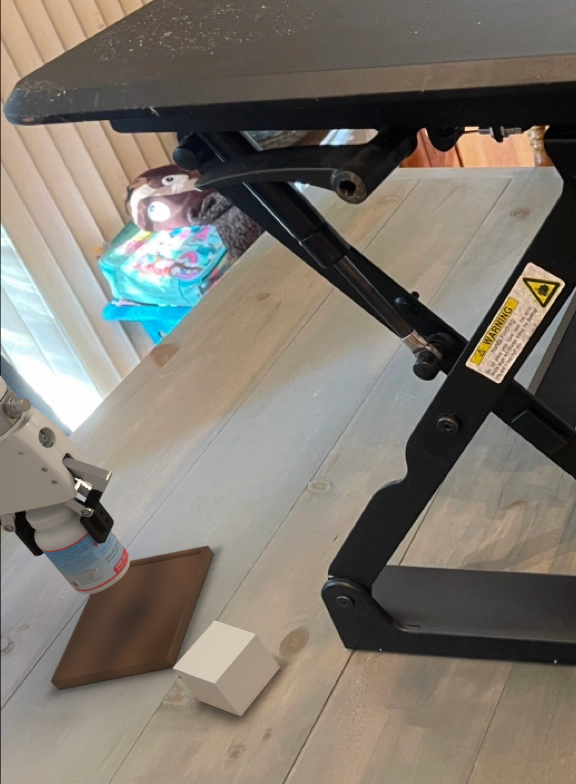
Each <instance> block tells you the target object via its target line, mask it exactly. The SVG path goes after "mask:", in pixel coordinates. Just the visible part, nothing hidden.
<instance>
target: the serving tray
mask: <svg viewBox="0 0 576 784" xmlns="http://www.w3.org/2000/svg"><path fill="white" fill-rule="evenodd" d="M213 557H214V552H213V550H212V549H211V547H210V546H209V545H204V546H198V547H193V548H187V549H184V550H178V551H172V552H168V553H163V554H159V555H153V556H148V557H147V556H146V557H143V558H138V559H133V560H130V565H129V568H128V570H127V571H126V573H125V574H124V576H123V577H122V578H121V579H119V580H118V581H117V582H116V583H114V584H113V585H111V586H110V587H108V588H106V589H104V590H102V591H100V592H97V593H93V594H89V596H88V598H87V600H86V603H85V605H84V607H83V609H82V612H81V614H80V615H79V618H78V621H77V622H76V625H75V627H74V629H73V631H72V632H71V636H70V638H69V640H68V642H67V644H66V647H65V649H64V651H63V653H62V655H61V657H60V660H59V662H58V664H57V666H56V668H55V670H54V673H53V675H52V678H51V680H50V683H51V684H52V685H53V687H55V688H56V689H57V690H63V689H67V688H72V687H78V686H82V685H83V686H84V685H88V684H92V683H98V682H102V681H108V680H114V679H118V678H124V677H128V676H133V675H140V674H144V673H150V672H154V671H159V670H164V669H170V668H173V667H174V666H175V665H176V664H175V663H176V661H177V658H178V655H179V653H180V648H181V647H182V644H183V641H184V638H185V635H186V633H187V630H188V627H189V624H190V621H191V619H192V615H193V613H194V610H195V607H196V604H197V602H198V599H199V596H200V593H201V590H202V587H203V585H204V582H205V579H206V577H207V574H208V570H209V568H210V565H211V562H212V559H213Z"/></svg>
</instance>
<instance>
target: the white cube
mask: <svg viewBox="0 0 576 784" xmlns="http://www.w3.org/2000/svg"><path fill="white" fill-rule="evenodd" d="M177 661H178V662H176V664H174V667H172V670H174V672H175V673H176V674H177V676H179V678H180V679H181V680H182V682H183V683H184V684H185V685H186V686H187V688H188V689H189V690H190V691H191V692H192V694H193V695H194V696H195V698H197V700H198V701H199V702H202V703H204V704H207V705H209V706H212V707H215V708H217V709H218V710H221V711H224V712H228V713H230V714H233V715H235V716H238V717H242V716H243V715H244V714H245V712H246V711H247V710H248V708H249V707H250V706H251V705H252V703H254V701H255V700H256V698H257V697H258V696H259V695H260V694H261V692H262V691H263V690H264V689H265V687H266V686H267V685H268V684H269V682H270V681H271V680H272V678H273V677H274V676H275V675H276V674H277V672H278V671H279V670H280V669H281V667H280V665H279V664H278V663H277V661H276V660H275V659H274V657H273V656H272V654H271V652H270V651H269V650H268V649H267V647H266V646H265V644H264V643H263V642H262V641H261V638H259V636H258V635H257V634H256V633H253V632H250V631H247V630H245V629H242V628H239V627H236V626H233V625H229V624H227V623H224V622H221V621H218V620H214V621H213V622H211V624H210V625H209V626H208V627H207V628H206V630H205V631H204V632H203V633H202V634H201V635H200V636H199V638H198V639H196V641H195V642H194V643H193V644H192V645H191V646H190V648H189V649H188V650H187V651H186V652H185V653H184V654H183V656H181V658H180V659H179V660H177Z"/></svg>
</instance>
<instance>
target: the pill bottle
mask: <svg viewBox="0 0 576 784" xmlns="http://www.w3.org/2000/svg"><path fill="white" fill-rule="evenodd" d="M81 516H82V515H80V514H78V513H77V512H75V511H74V510H72V509H71V508H69V507H67V506H66V505H64V504H63V503H58V504H54V505H49V506H45V507H40V508H35V509H30V510H26V519H27V520H28V522H29V523H30V524H31V526H32V527H33V528H34V529H36V530H35V534H34V538H35V542H36V544H37V545H38V546H39V548H40V549H41V550H42V551H43V552H44V553H43V554H44V555H45V556H46V557H47V559H48V560H49V562H51V564H52V565H53V566H54V567H55V568H56V570H58V572H59V573H60V574H61V575H62V577H63V578H64V579H65V580H66V581H67V583H68V584H69V585H70V586H71V587H72V588H73V589H74V591H76V592H77V593H79V594H83V595H90V594H93V593H97V592H100V591H102V590H104V589H106V588H108V587H110V586H111V585H113V584H114V583H116V582H117V581H118V580H119V579H121V578H122V577H123V576H124V574H125V573H126V571H127V570H128V568H129V565H130V561H131V556H130V554H129V552H128V550H127V549H126V548H125V546H124V545H123V544H122V543H121V542H120V541H119V539H118V537H117V536H116V535H115V534H114V533H113V532H112V530H111V531H110V533H109V536H108V538H107V540H106V542H105V543H101V544H98V543H96V541H95V540H94V539H93V538H92V536H91V535H90V534H89V533H88V531H87V530H86V529H85V528H84V526H83V525H82V524H81V523H80V518H81Z"/></svg>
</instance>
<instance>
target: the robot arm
mask: <svg viewBox="0 0 576 784" xmlns="http://www.w3.org/2000/svg"><path fill="white" fill-rule="evenodd" d="M112 477H113V473H112V471H110V470H107V469H104V468H101V467H98V466H95V465H92V464H90V462H89V460H88V459H87V458H86V456H85V455H84V454H83V452H82V451H81V450H80V449H79V448H78V447H77V445H76V444H75V442H73V441H72V440H71V439H70V438H69V437H68V435H66V433H65V432H64V431H63V430H62V429H61V428H59V427H58V425H56V423H54V421H52V419H50V418H49V417H48V416H47V415H45V414H44V413H43V412H42V411H40V410H39V409H37V408H36V407H35V406H33V405H31V401H30V399H28V398H27V397H22V398H19V397H18V396H17V395H16V394H15V393H14V391H13V390H12V389H11V387H10V386H9V385H8V384H7V382H6V381H5V380H4V379H3V377H2V376H1V375H0V526H1V527H2V530H3V531H4V532H7V533H14V534H15V535H16V537H17V538H18V539H19V540H20V541H21V543H22V544H24V546H25V547H26V548H27V549H28V550H29V552H30V553H31V554H32V555H33V556H34V557H41V556H42V555H43V554H44V552H43V551H42V550H41V549H40V548H39V546H38V545H37V544H36V542H35V538H34V534H35V530H36V529H34V528H33V527H32V526H31V524H30V523H29V522H28V520H27V519H26V512H27V510H30V509H35V508H40V507H45V506H49V505H54V504H58V503H63V504H64V505H66V506H67V507H69V508H71V509H72V510H74V511H75V512H77V513H78V514H80V515H82V516H81V518H80V523H81V524H82V525H83V526H84V528H85V529H86V530H87V531H88V533H89V534H90V535H91V536H92V538H93V539H94V540H95V541H96V543H98V544H101V543H105V542H106V540H107V538H108V536H109V533H110V531H111V532H112V529H113V528H114V525H115V521H114V519H113V516H112V515H111V514H110V513H109V511H107V509H106V508H105V507H104V505H103V504H102V503H101V502H100V501H101V498H102V496H103V494H104V493H105V491H106V489H107V487H108V485H109V483H110V482H111V479H112ZM78 494H79V495H81V496H82V497H84V498H85V500H84V501H83V500H82V499H80V498H78V497H77V496H78Z"/></svg>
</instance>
